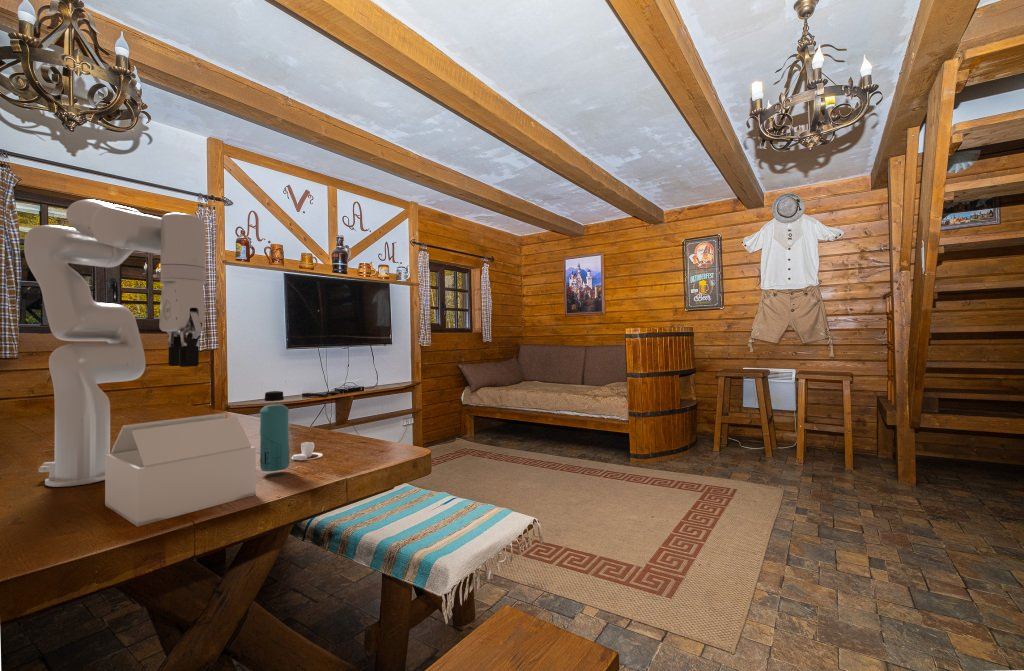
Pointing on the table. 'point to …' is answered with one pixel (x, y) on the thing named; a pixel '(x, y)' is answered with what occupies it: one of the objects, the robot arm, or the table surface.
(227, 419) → the near flap
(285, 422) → the beverage bottle
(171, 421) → the far flap
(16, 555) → the table surface
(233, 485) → the carton
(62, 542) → the table surface
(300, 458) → the teacup and saucer
